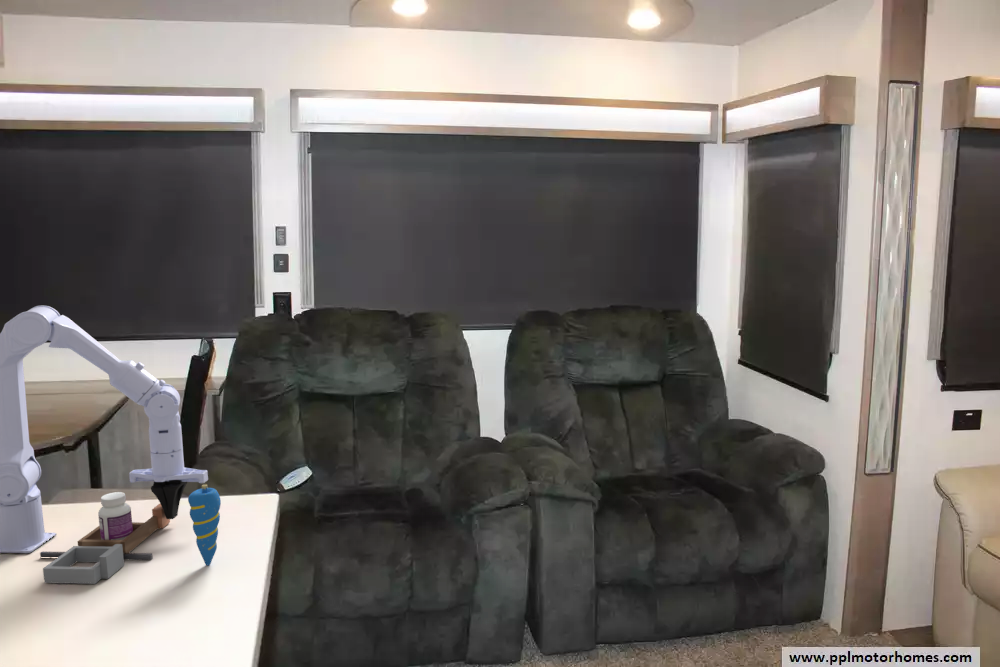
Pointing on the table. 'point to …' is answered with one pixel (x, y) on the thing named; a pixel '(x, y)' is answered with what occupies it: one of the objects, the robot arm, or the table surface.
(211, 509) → the ornament
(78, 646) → the table surface
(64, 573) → the gray rectangular frame
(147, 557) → the rail
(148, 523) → the frame
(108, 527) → the pill bottle
